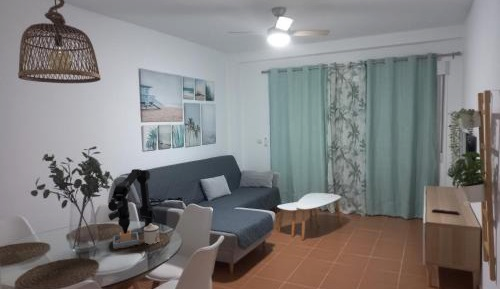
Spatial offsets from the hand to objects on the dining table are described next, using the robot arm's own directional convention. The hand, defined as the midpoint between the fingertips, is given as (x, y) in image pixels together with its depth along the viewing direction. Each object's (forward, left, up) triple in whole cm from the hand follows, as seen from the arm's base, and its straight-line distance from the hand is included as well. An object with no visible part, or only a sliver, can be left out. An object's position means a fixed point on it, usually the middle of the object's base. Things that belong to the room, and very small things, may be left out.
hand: (125, 231), depth 201 cm
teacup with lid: (+4, +15, -8) cm, 17 cm away
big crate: (0, 0, -8) cm, 8 cm away
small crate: (0, 0, -7) cm, 7 cm away
